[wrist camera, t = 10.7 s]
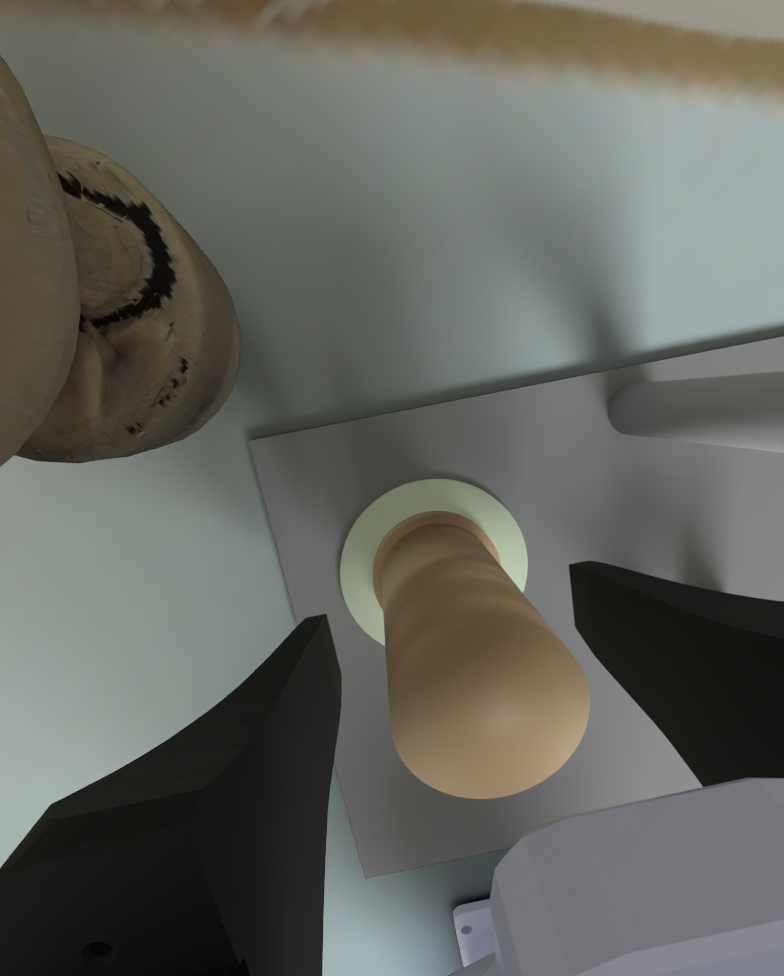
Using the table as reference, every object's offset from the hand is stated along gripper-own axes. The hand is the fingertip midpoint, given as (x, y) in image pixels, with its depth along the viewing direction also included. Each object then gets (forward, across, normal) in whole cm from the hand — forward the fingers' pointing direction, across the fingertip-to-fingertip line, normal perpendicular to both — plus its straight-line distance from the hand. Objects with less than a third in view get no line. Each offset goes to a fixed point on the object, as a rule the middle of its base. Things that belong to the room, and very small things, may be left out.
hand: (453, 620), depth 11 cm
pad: (+4, 0, 0) cm, 4 cm away
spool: (+3, 0, 0) cm, 3 cm away
